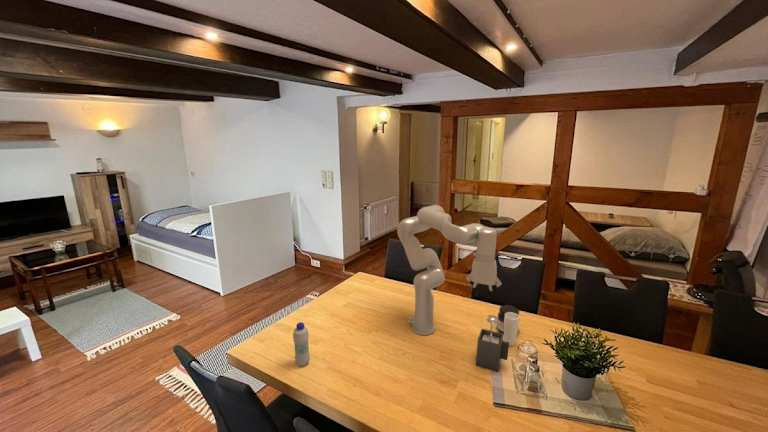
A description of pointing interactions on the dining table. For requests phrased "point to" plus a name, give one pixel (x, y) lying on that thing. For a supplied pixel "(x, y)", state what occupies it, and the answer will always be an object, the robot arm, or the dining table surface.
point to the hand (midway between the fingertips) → (482, 296)
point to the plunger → (491, 330)
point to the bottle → (301, 344)
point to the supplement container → (501, 315)
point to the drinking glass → (510, 327)
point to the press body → (491, 351)
